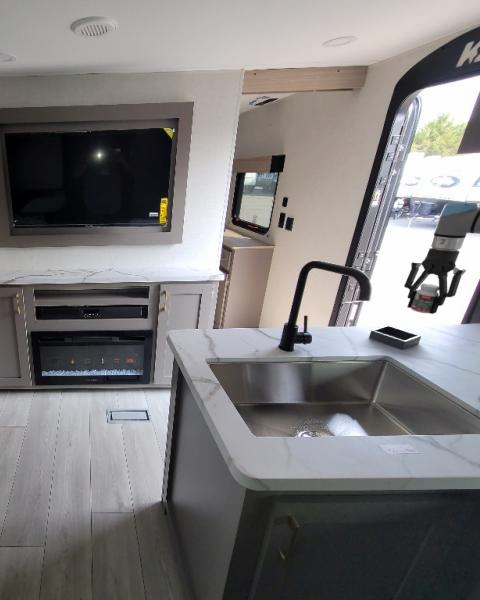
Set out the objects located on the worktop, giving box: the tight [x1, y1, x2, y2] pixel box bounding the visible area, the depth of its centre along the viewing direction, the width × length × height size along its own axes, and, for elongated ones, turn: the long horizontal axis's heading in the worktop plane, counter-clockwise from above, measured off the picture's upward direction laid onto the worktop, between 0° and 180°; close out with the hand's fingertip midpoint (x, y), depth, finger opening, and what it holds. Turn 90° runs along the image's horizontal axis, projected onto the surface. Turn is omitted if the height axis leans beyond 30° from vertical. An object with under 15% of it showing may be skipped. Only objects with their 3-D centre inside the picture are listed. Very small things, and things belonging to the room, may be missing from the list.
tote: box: [368, 324, 422, 351], centre depth 134 cm, size 11×11×4 cm
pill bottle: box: [410, 283, 439, 314], centre depth 120 cm, size 6×6×10 cm
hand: (421, 309), depth 121 cm, fingers closed on pill bottle, 6 cm apart
